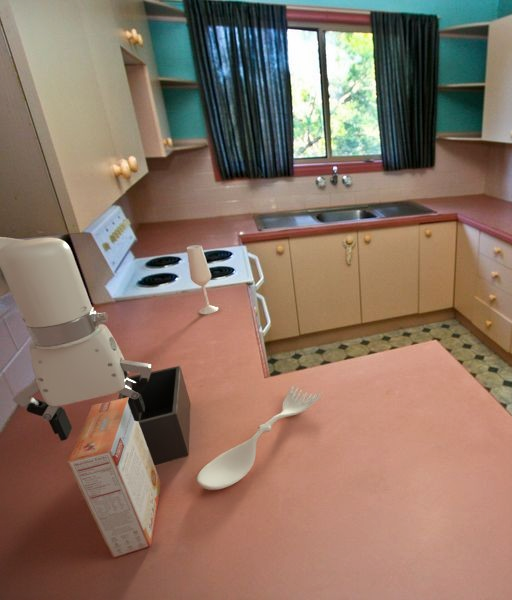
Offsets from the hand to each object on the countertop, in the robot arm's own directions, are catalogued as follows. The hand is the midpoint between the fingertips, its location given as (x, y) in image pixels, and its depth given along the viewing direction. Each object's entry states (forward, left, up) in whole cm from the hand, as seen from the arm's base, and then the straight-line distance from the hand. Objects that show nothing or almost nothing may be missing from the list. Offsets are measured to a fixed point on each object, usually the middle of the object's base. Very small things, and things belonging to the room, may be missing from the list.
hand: (103, 425), depth 66 cm
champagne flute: (+13, +91, -21) cm, 94 cm away
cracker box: (0, 0, -21) cm, 21 cm away
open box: (+2, +23, -21) cm, 31 cm away
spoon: (+23, +11, -21) cm, 33 cm away
